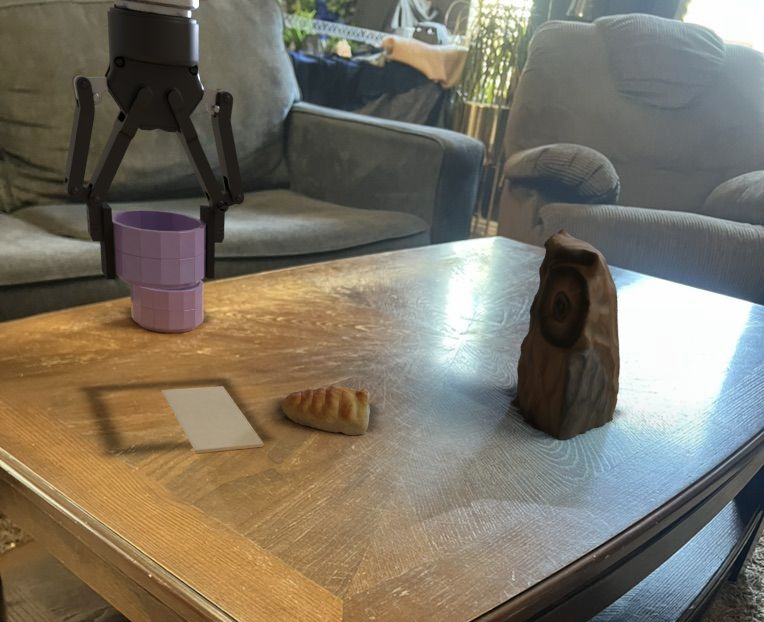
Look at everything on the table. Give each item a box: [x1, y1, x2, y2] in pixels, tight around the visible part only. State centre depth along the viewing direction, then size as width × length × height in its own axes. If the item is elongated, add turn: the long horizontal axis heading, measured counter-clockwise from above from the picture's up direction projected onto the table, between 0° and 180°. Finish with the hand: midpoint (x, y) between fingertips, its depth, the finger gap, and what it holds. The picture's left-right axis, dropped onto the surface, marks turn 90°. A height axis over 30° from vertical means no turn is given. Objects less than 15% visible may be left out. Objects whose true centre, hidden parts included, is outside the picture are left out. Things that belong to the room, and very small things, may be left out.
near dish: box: [112, 209, 206, 289], centre depth 76 cm, size 9×9×6 cm
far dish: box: [129, 279, 205, 334], centre depth 101 cm, size 9×9×6 cm
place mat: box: [160, 385, 265, 454], centre depth 78 cm, size 14×14×1 cm
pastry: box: [281, 384, 371, 436], centre depth 82 cm, size 9×7×4 cm
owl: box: [510, 228, 621, 441], centre depth 87 cm, size 13×13×20 cm
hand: (158, 274), depth 78 cm, fingers closed on near dish, 9 cm apart
